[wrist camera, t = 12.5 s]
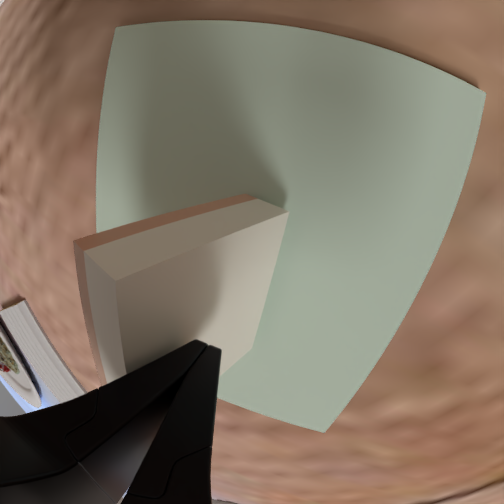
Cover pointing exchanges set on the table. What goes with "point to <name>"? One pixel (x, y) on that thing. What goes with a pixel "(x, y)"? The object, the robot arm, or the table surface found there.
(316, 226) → the mat
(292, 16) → the table surface
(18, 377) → the plated food
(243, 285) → the tile
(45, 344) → the baseboard
